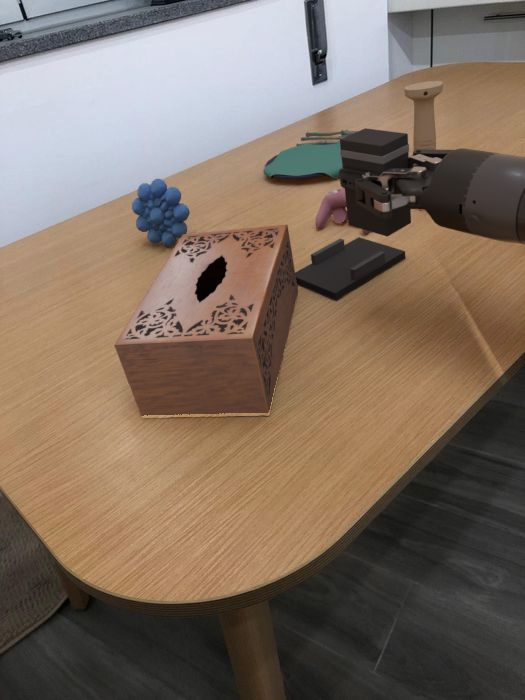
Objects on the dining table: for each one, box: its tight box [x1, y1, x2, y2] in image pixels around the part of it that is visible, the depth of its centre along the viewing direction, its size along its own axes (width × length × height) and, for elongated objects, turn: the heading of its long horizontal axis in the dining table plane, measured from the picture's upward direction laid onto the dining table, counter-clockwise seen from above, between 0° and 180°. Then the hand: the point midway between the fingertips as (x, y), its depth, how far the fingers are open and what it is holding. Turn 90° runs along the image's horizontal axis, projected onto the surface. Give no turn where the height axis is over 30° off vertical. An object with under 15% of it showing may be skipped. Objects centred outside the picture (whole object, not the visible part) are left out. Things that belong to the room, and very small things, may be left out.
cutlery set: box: [262, 129, 359, 180], centre depth 127 cm, size 20×30×2 cm, turn 157°
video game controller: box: [314, 187, 371, 235], centre depth 97 cm, size 10×5×7 cm, turn 57°
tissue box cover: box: [113, 224, 299, 417], centre depth 72 cm, size 26×14×10 cm, turn 170°
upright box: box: [339, 127, 412, 237], centre depth 66 cm, size 4×6×10 cm
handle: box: [404, 80, 444, 151], centre depth 108 cm, size 5×6×15 cm
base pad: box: [295, 236, 406, 301], centre depth 85 cm, size 14×9×3 cm, turn 129°
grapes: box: [131, 178, 190, 248], centre depth 101 cm, size 12×7×12 cm, turn 63°
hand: (356, 169), depth 67 cm, fingers closed on upright box, 4 cm apart
